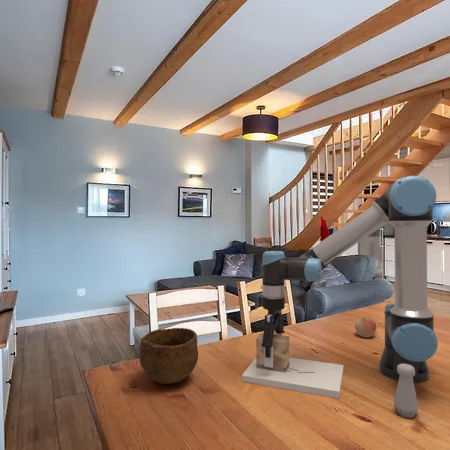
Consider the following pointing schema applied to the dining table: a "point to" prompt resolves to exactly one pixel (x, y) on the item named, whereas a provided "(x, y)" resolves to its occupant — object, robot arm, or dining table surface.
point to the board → (300, 377)
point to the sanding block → (274, 353)
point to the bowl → (169, 354)
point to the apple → (365, 327)
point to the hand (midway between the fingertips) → (273, 359)
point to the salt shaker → (406, 392)
